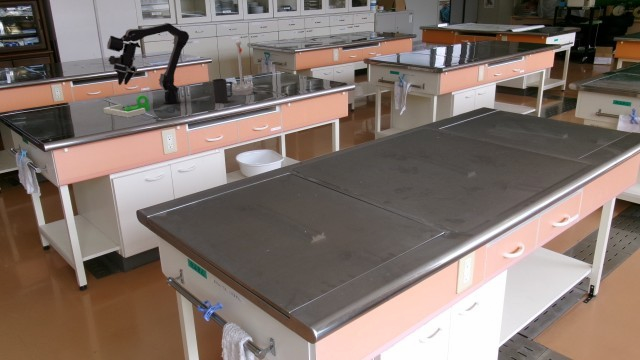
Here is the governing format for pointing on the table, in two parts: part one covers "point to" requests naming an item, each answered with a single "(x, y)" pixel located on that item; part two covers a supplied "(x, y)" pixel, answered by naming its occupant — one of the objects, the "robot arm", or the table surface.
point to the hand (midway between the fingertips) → (122, 84)
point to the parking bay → (117, 111)
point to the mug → (221, 90)
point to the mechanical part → (139, 104)
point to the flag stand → (241, 88)
